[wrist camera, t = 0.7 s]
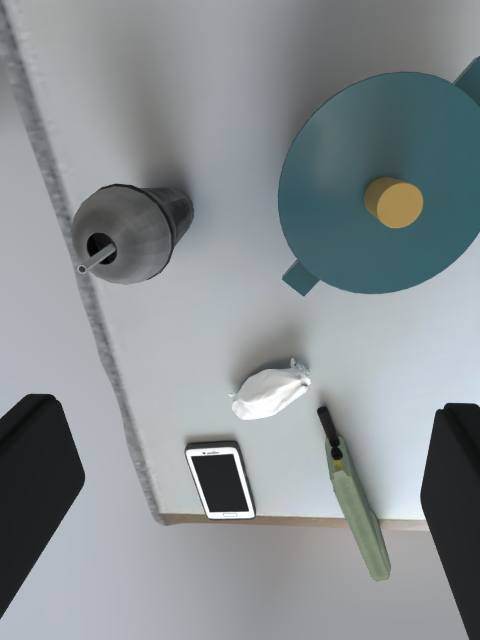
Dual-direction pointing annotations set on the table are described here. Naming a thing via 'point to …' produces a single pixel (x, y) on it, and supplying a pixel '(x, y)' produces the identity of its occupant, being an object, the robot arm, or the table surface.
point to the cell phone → (221, 480)
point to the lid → (384, 183)
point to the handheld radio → (354, 502)
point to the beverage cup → (129, 231)
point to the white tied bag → (270, 391)
